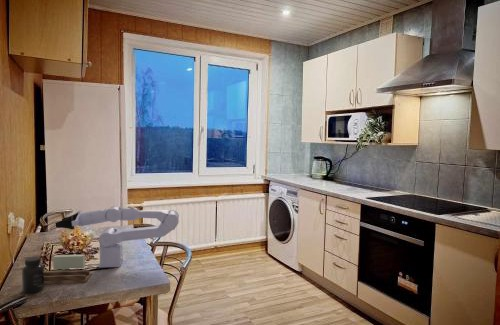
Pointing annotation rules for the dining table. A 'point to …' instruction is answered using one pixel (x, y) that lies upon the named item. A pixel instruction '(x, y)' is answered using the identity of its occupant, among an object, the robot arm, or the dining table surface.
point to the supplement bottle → (32, 276)
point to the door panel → (68, 261)
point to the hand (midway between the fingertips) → (59, 223)
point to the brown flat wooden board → (66, 277)
